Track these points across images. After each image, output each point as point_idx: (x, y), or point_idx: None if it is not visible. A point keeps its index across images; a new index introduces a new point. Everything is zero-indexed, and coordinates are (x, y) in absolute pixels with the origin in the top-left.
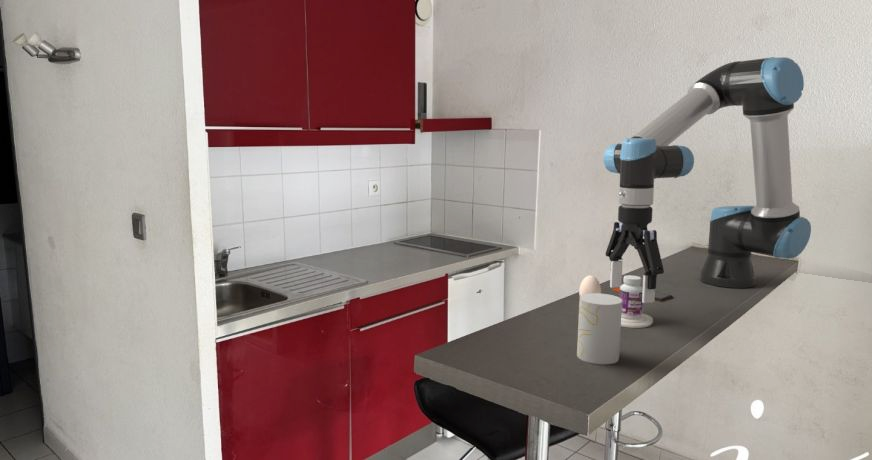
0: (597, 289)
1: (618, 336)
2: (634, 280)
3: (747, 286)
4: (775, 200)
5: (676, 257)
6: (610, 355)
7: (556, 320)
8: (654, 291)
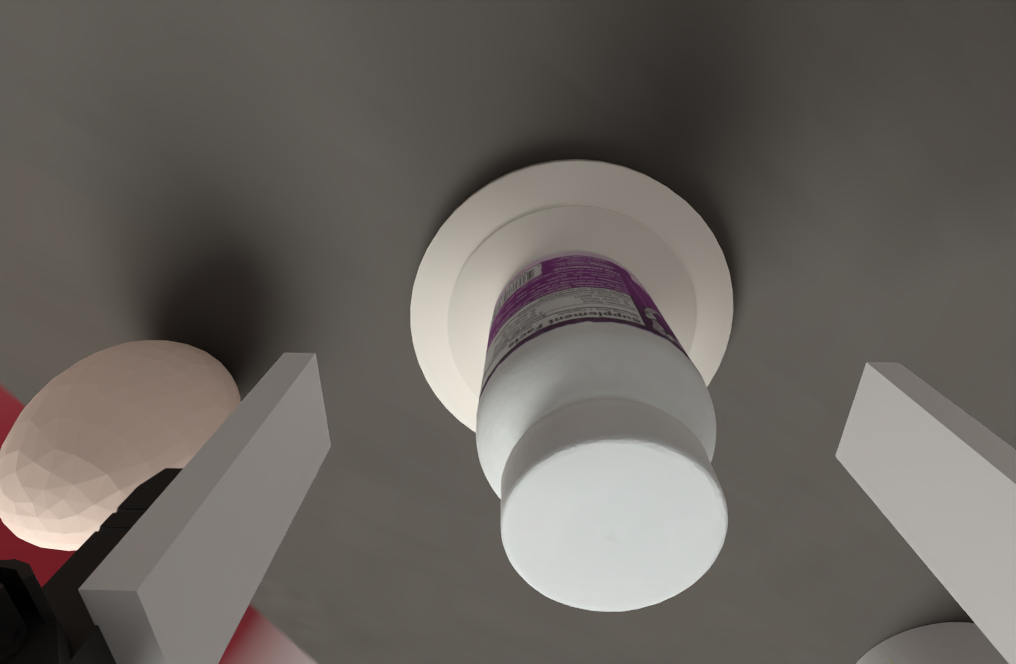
0: (192, 437)
1: None
2: (709, 550)
3: None
4: None
5: None
6: None
7: (462, 632)
8: (983, 433)
